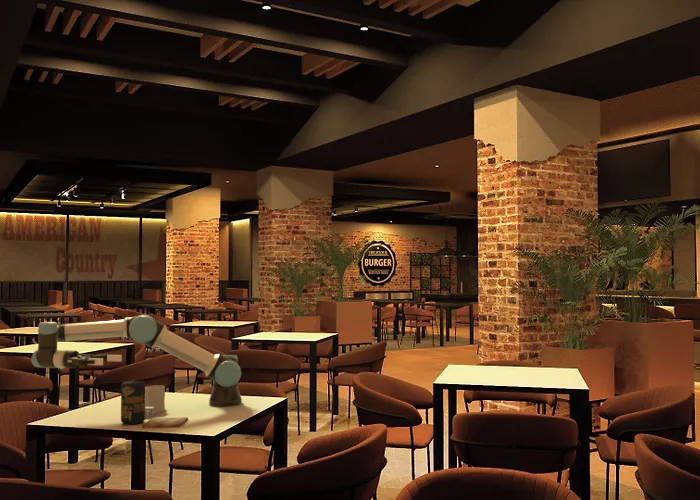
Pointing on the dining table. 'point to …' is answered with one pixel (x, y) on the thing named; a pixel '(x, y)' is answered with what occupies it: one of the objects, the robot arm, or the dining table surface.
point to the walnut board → (165, 422)
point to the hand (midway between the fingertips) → (112, 360)
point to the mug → (155, 397)
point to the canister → (132, 402)
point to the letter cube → (149, 412)
